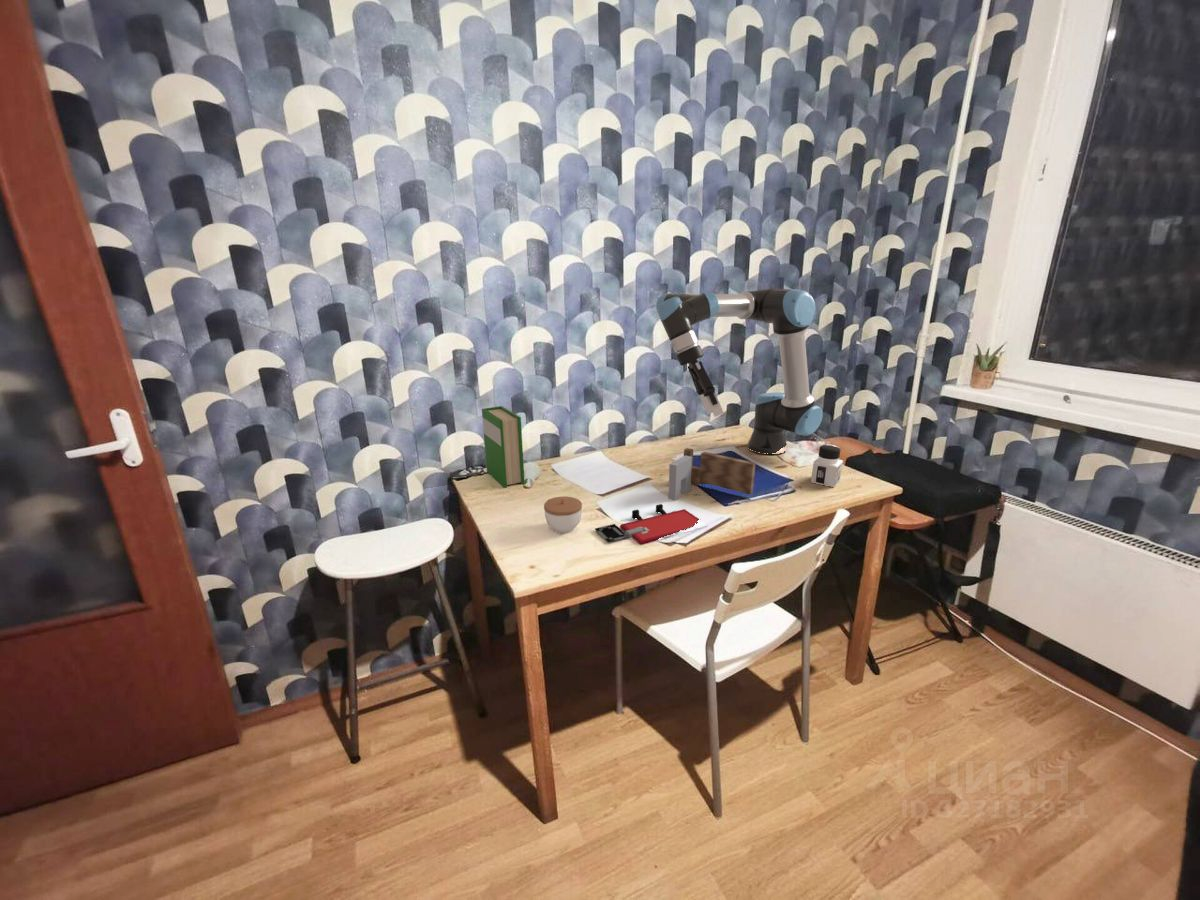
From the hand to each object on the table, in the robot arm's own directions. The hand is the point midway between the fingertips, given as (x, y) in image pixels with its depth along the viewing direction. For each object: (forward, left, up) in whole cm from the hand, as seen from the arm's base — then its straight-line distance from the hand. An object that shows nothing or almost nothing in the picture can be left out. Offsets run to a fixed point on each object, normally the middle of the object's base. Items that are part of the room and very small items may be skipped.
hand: (715, 414), depth 161 cm
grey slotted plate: (-8, -7, -29) cm, 30 cm away
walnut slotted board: (-7, +7, -29) cm, 30 cm away
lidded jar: (0, -49, -29) cm, 57 cm away
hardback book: (-45, -56, -29) cm, 78 cm away
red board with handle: (+9, -26, -29) cm, 40 cm away
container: (+3, +45, -29) cm, 53 cm away
